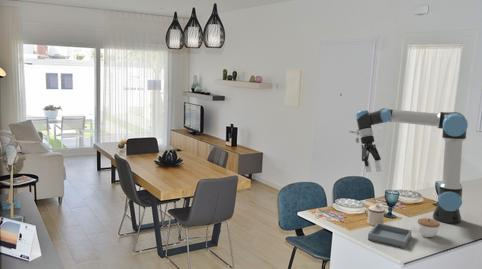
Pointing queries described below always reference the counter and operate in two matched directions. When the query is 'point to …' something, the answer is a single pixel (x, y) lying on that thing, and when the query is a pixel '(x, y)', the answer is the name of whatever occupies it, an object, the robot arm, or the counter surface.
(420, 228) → the lidded jar
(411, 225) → the counter surface
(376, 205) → the teacup with lid
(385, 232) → the tray
